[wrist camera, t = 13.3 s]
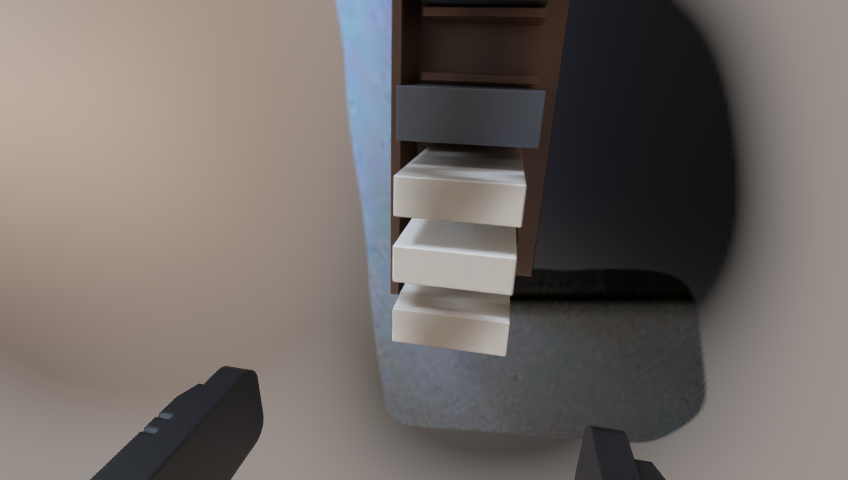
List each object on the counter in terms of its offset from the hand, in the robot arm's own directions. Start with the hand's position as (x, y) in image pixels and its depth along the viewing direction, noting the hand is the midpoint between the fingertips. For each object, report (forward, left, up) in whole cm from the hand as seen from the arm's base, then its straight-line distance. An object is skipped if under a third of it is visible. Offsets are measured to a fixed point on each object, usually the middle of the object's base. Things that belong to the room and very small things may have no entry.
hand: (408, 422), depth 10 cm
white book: (0, +1, -23) cm, 23 cm away
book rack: (0, -4, -24) cm, 24 cm away
